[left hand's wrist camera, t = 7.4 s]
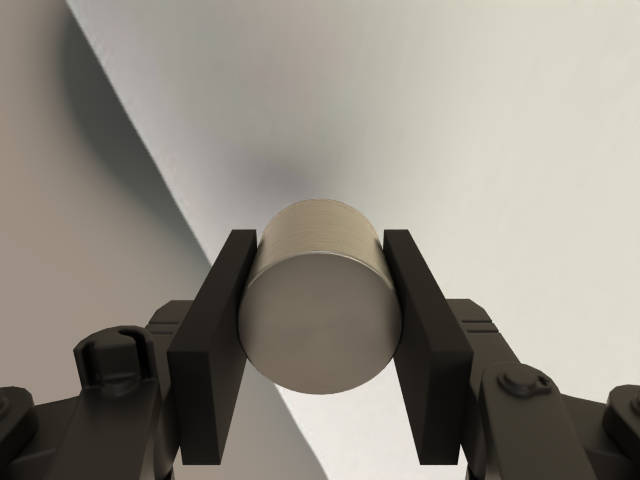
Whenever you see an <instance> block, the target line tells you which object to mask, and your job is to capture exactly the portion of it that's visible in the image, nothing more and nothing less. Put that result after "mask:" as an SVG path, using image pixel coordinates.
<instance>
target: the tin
mask: <svg viewBox="0 0 640 480" xmlns="http://www.w3.org/2000/svg"><path fill="white" fill-rule="evenodd" d="M236 320H237V333H238V339H239V341H240V344H241V347H242V349H243V351H244V353H245V355H246V357H247V358H248V359H249V361H250V362H251V364H252V365H253V366H254V367H255V368H256V369H257V370H258V371H259V372H260V373H261V374H262V375H264V376H265V377H266V378H268V379H269V380H271V381H272V382H274V383H276V384H278V385H280V386H282V387H284V388H287V389H290V390H292V391H296V392H300V393H307V394H321V395H322V394H334V393H339V392H344V391H347V390H350V389H353V388H356V387H358V386H360V385H362V384H364V383H366V382H368V381H369V380H371V379H372V378H374V377H375V376H376V375H378V374H379V373H380V372H381V371H382V370H383V369H384V368H385V367H386V366H387V364H388V363H389V362H390V361H391V359H392V358H393V356H394V354H395V353H396V351H397V348H398V346H399V344H400V341H401V337H402V333H403V311H402V306H401V303H400V300H399V297H398V294H397V291H396V288H395V285H394V282H393V279H392V276H391V273H390V270H389V267H388V264H387V261H386V258H385V255H384V252H383V249H382V246H381V243H380V241H379V238H378V235H377V233H376V231H375V229H374V227H373V226H372V224H371V223H370V222H369V221H368V220H367V218H366V217H365V216H364V215H362V214H361V213H360V212H359V211H357V210H356V209H354V208H353V207H351V206H349V205H346V204H344V203H341V202H338V201H334V200H328V199H311V200H306V201H301V202H298V203H296V204H293V205H291V206H289V207H287V208H285V209H284V210H283V211H281V212H280V213H278V214H277V215H276V216H275V217H274V218H273V219H272V220H271V222H270V223H269V224H268V225H267V227H266V229H265V230H264V232H263V234H262V237H261V239H260V242H259V245H258V248H257V251H256V254H255V257H254V260H253V263H252V266H251V269H250V272H249V275H248V278H247V281H246V284H245V287H244V290H243V293H242V296H241V299H240V302H239V306H238V309H237V317H236Z"/></svg>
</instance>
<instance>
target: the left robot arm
mask: <svg viewBox="0 0 640 480" xmlns="http://www.w3.org/2000/svg"><path fill="white" fill-rule="evenodd" d="M256 251H257V235H256V230H232V231H231V233H230V235H229V237H228V239H227V240H226V242H225V244H224V246H223V248H222V250H221V252H220V253H219V255H218V257H217V259H216V261H215V263H214V264H213V266H212V268H211V270H210V272H209V274H208V276H207V278H206V279H205V281H204V283H203V285H202V287H201V288H200V290H199V292H198V294H197V296H196V298H195V300H171V301H170V302H168V303H167V304H165V305H164V306H162V307H161V308H159V309H158V310H157V311H156V312H155V313H154V315H153V316H152V318H151V319H150V321H149V324H148V325H146V327H145V328H142V327H138V326H117V327H112V328H107V329H104V330H101V331H99V332H96V333H93V334H91V335H90V336H88V337H87V338H85V339H83V340H82V341H80V342H79V343H78V345H77V346H76V347H75V348H74V349H73V352H74V356H75V360H76V365H77V369H78V373H79V377H80V382H81V386H82V390H81V392H80V395H79V396H76V397H72V398H69V399H64V400H60V401H55V402H50V403H46V404H41V405H36V406H35V405H34V402H33V398H32V395H31V394H30V393H29V392H28V391H27V390H26V389H24V388H19V387H14V386H12V387H2V388H0V480H175V478H174V472H173V462H174V460H175V457H176V454H177V452H178V449H179V446H180V449H181V456H182V463H183V465H220V464H221V460H222V456H223V452H224V448H225V443H226V440H227V436H228V432H229V428H230V423H231V420H232V416H233V412H234V408H235V404H236V400H237V396H238V392H239V388H240V384H241V380H242V376H243V372H244V368H245V364H246V360H247V357H246V355H245V353H244V351H243V349H242V347H241V344H240V341H239V339H238V333H237V320H236V317H237V309H238V306H239V302H240V299H241V296H242V293H243V290H244V287H245V284H246V281H247V278H248V275H249V272H250V269H251V266H252V263H253V260H254V257H255V254H256ZM383 252H384V255H385V258H386V261H387V264H388V267H389V270H390V273H391V276H392V279H393V282H394V285H395V288H396V291H397V294H398V297H399V300H400V303H401V306H402V311H403V333H402V337H401V341H400V344H399V346H398V348H397V351H396V353H395V354H394V356H393V359H394V363H395V367H396V371H397V375H398V379H399V383H400V387H401V391H402V395H403V399H404V403H405V407H406V411H407V415H408V419H409V423H410V426H411V430H412V434H413V438H414V442H415V446H416V450H417V454H418V458H419V462H420V465H458V458H459V451H460V444H461V446H462V448H463V451H464V454H465V456H466V459H467V462H468V465H467V471H466V478H465V480H640V386H639V385H629V384H628V385H622V386H617V387H615V388H614V389H613V390H612V391H611V392H610V393H609V396H608V400H607V403H606V404H604V403H599V402H594V401H590V400H585V399H580V398H575V397H571V396H568V395H564V394H561V393H560V391H559V389H558V387H557V386H556V385H555V383H554V382H553V380H552V379H551V378H550V377H548V376H547V375H545V374H544V373H543V372H541V371H540V370H538V369H535V368H533V367H531V366H528V365H526V364H521V363H520V361H519V360H518V358H517V357H516V355H515V354H514V352H513V351H512V350H511V348H510V347H509V345H508V344H507V342H506V341H505V339H504V338H503V336H502V335H501V333H499V330H498V329H497V327H496V326H495V324H494V323H492V320H491V319H490V317H489V316H488V314H487V313H486V311H485V310H484V309H483V308H482V307H480V306H479V305H477V304H476V303H474V302H473V301H471V300H470V299H445V297H444V295H443V293H442V292H441V290H440V288H439V286H438V284H437V282H436V281H435V279H434V277H433V275H432V273H431V271H430V269H429V268H428V266H427V264H426V262H425V260H424V258H423V257H422V255H421V253H420V251H419V249H418V247H417V245H416V244H415V242H414V240H413V238H412V236H411V234H410V233H409V231H408V230H384V240H383Z"/></svg>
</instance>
